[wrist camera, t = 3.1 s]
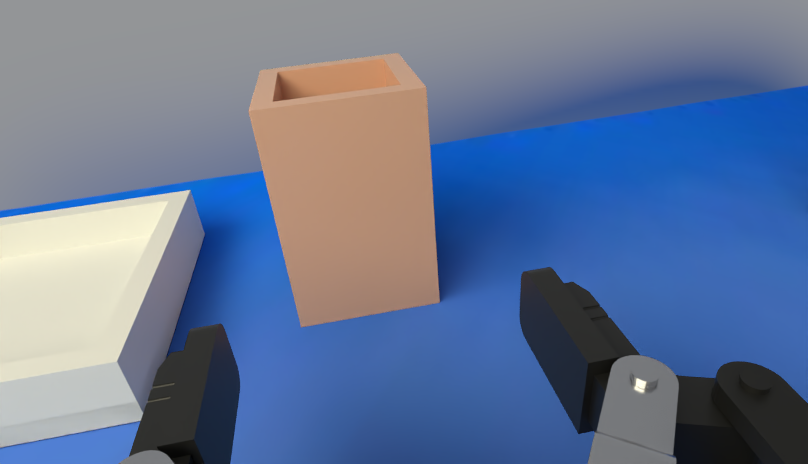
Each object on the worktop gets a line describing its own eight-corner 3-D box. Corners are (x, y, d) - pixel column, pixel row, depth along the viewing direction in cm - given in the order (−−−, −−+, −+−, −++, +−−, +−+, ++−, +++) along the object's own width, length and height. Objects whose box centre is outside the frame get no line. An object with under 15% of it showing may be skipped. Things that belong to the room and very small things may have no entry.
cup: (413, 234, 29) (398, 52, 24) (439, 302, 24) (426, 87, 19) (301, 252, 29) (260, 70, 24) (301, 327, 23) (248, 110, 18)
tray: (205, 234, 31) (190, 190, 30) (146, 419, 19) (116, 361, 18) (-43, 273, 30) (-72, 228, 28) (-272, 499, 18) (-343, 443, 16)
